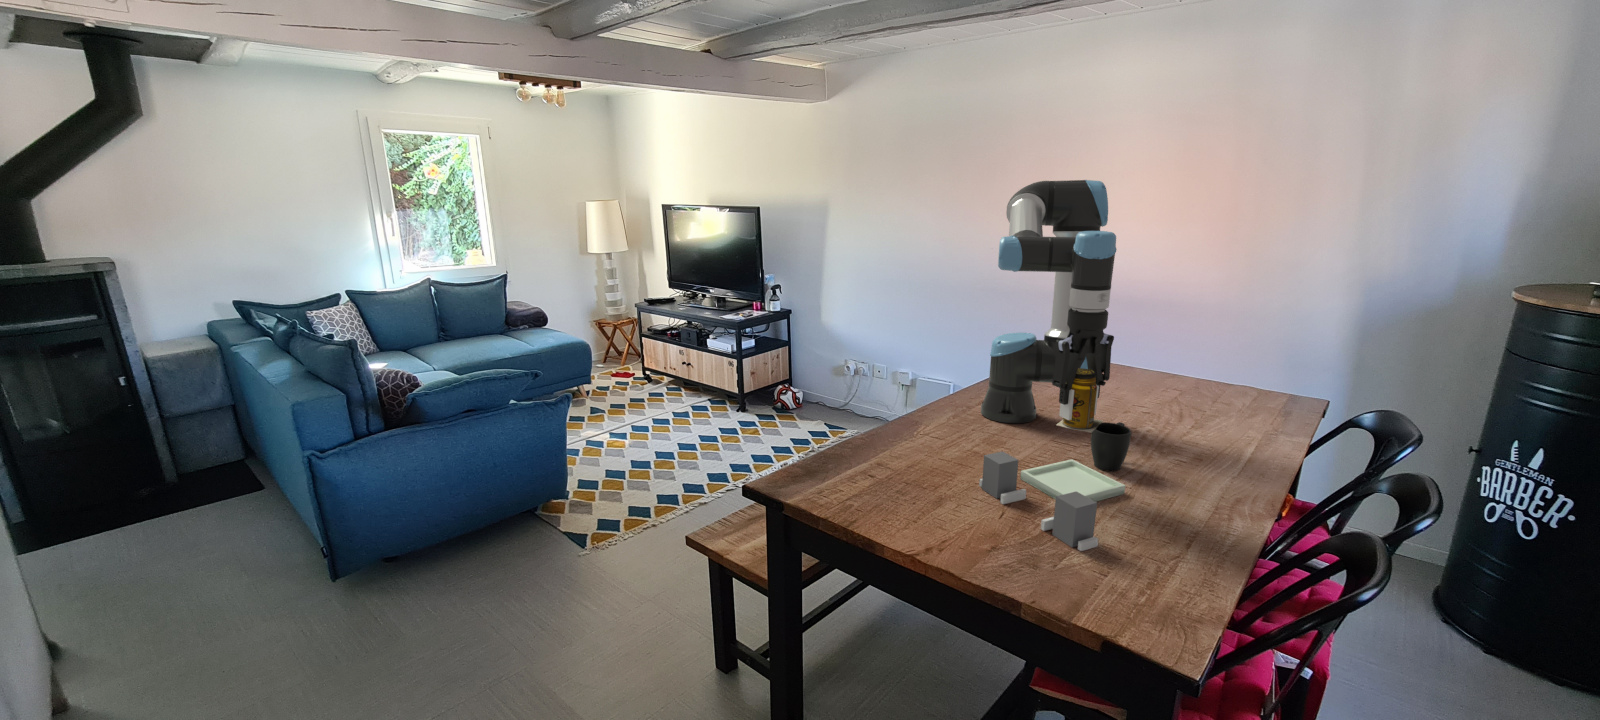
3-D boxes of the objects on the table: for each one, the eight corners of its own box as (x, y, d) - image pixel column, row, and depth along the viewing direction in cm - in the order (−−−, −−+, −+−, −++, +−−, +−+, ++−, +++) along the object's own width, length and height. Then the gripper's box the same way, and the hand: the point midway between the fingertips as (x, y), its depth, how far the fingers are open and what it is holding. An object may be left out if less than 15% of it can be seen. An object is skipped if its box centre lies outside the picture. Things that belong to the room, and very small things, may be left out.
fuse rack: (975, 486, 145) (977, 452, 143) (997, 481, 147) (999, 448, 145) (1076, 552, 119) (1081, 512, 117) (1101, 545, 121) (1106, 505, 119)
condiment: (1055, 425, 140) (1060, 372, 137) (1069, 414, 146) (1074, 362, 143) (1090, 433, 136) (1097, 378, 132) (1103, 422, 142) (1109, 368, 139)
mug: (1137, 461, 157) (1142, 423, 154) (1119, 477, 148) (1123, 438, 146) (1101, 451, 162) (1105, 415, 160) (1082, 467, 154) (1086, 429, 151)
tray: (1020, 478, 148) (1020, 470, 148) (1071, 467, 154) (1072, 459, 153) (1070, 508, 135) (1071, 499, 135) (1124, 493, 141) (1125, 485, 140)
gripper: (1066, 316, 127) (1055, 428, 133) (1138, 307, 134) (1125, 414, 140) (1038, 309, 134) (1029, 416, 140) (1108, 301, 141) (1097, 403, 147)
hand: (1077, 415), depth 140 cm, fingers closed on condiment, 6 cm apart
